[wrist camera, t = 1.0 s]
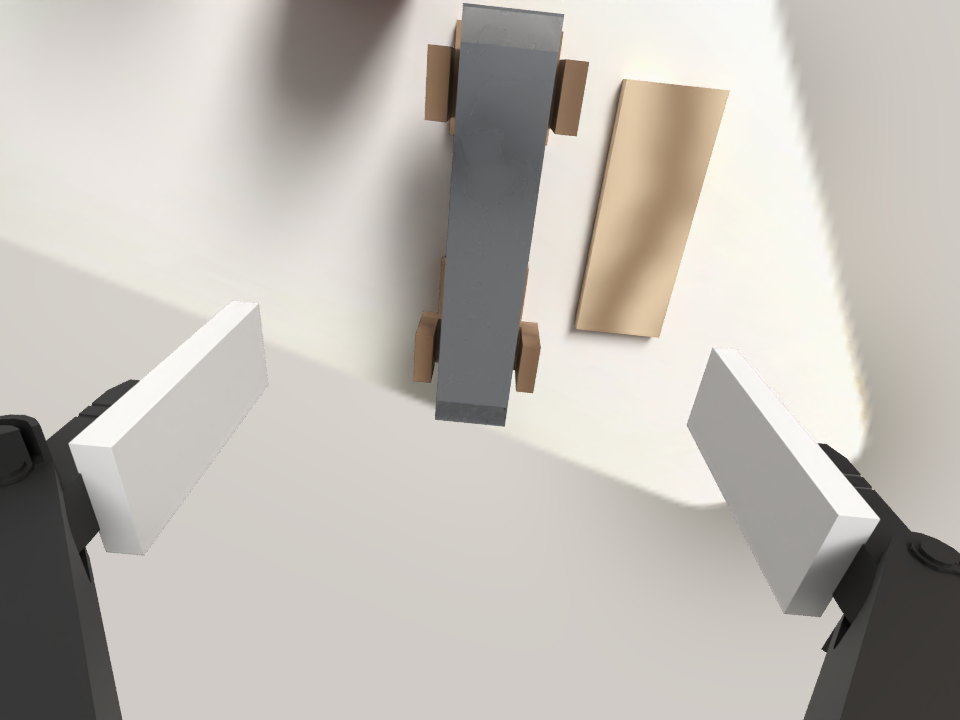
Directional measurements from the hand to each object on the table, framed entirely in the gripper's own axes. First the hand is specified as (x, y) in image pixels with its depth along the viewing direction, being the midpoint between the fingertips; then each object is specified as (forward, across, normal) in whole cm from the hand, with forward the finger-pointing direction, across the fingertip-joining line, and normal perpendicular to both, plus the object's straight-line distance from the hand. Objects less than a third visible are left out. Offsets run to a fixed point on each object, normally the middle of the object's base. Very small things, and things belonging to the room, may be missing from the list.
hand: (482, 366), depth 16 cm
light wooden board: (+22, +10, 0) cm, 24 cm away
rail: (+15, 0, 0) cm, 15 cm away
